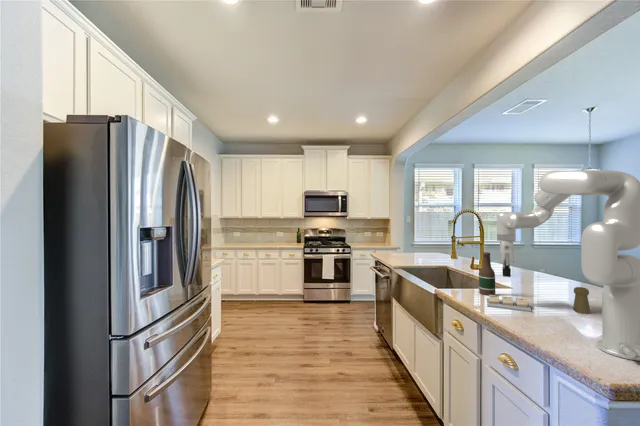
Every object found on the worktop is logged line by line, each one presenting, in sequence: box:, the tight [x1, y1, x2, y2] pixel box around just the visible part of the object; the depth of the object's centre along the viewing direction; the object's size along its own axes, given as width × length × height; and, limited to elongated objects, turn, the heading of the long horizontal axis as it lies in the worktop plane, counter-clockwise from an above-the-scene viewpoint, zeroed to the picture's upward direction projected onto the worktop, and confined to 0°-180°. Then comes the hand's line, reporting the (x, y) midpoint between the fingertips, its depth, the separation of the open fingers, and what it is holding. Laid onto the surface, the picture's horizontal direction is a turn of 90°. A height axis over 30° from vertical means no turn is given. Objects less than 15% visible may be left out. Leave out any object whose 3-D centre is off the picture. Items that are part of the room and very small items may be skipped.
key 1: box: [515, 297, 528, 307], centre depth 134 cm, size 4×4×4 cm
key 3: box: [488, 294, 500, 304], centre depth 139 cm, size 4×4×4 cm
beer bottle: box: [478, 252, 496, 297], centre depth 156 cm, size 8×8×24 cm
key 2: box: [501, 295, 514, 306], centre depth 136 cm, size 4×4×4 cm
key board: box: [486, 297, 533, 313], centre depth 136 cm, size 13×17×2 cm
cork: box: [572, 286, 592, 315], centre depth 130 cm, size 6×6×11 cm
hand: (506, 276), depth 137 cm, fingers closed
